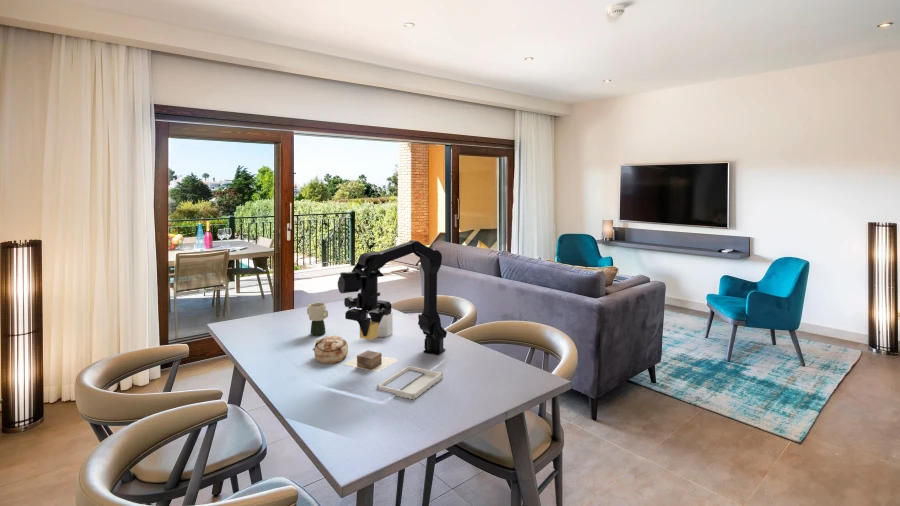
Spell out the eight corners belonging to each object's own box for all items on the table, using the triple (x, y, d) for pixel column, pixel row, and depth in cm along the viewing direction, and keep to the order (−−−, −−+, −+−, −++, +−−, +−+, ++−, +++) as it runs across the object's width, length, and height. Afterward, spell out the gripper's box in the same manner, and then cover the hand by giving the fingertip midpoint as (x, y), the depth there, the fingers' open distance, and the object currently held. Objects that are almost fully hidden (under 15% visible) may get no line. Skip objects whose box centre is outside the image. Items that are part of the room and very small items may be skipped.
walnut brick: (381, 364, 161) (381, 353, 160) (371, 370, 156) (371, 358, 155) (367, 361, 164) (367, 350, 163) (357, 366, 158) (356, 355, 158)
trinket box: (339, 349, 178) (338, 329, 177) (358, 360, 167) (357, 339, 166) (305, 357, 170) (305, 336, 169) (323, 369, 158) (322, 347, 157)
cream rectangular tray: (442, 378, 151) (442, 372, 151) (413, 400, 135) (413, 394, 135) (408, 370, 157) (408, 365, 157) (376, 391, 141) (376, 385, 141)
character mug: (333, 333, 197) (333, 304, 195) (322, 338, 191) (322, 307, 189) (313, 330, 202) (312, 301, 200) (302, 334, 195) (301, 304, 193)
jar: (371, 337, 192) (370, 309, 191) (371, 331, 200) (371, 304, 199) (392, 336, 193) (392, 309, 192) (392, 331, 201) (392, 304, 200)
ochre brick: (378, 336, 160) (378, 322, 159) (370, 340, 156) (370, 325, 155) (367, 334, 162) (367, 320, 161) (359, 337, 158) (359, 323, 157)
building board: (399, 361, 165) (399, 359, 165) (377, 374, 154) (377, 372, 154) (365, 354, 172) (365, 352, 172) (342, 366, 161) (342, 364, 160)
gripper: (367, 283, 168) (367, 324, 170) (332, 292, 152) (332, 337, 154) (392, 286, 163) (392, 329, 165) (359, 296, 147) (359, 343, 149)
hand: (369, 334), depth 159 cm, fingers closed on ochre brick, 4 cm apart
